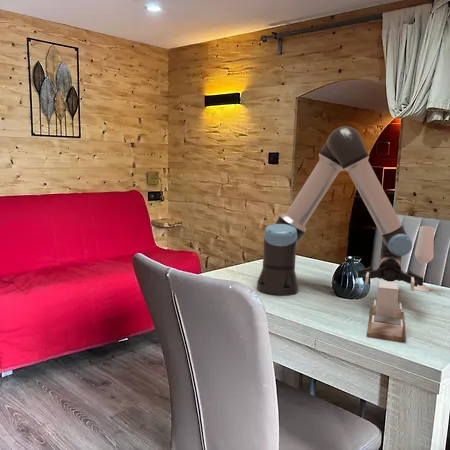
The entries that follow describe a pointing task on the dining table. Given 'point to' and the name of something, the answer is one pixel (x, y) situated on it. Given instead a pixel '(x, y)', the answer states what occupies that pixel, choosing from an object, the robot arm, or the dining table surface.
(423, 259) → the champagne flute
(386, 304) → the small box
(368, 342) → the dining table surface
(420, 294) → the dining table surface
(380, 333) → the board
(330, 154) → the robot arm
